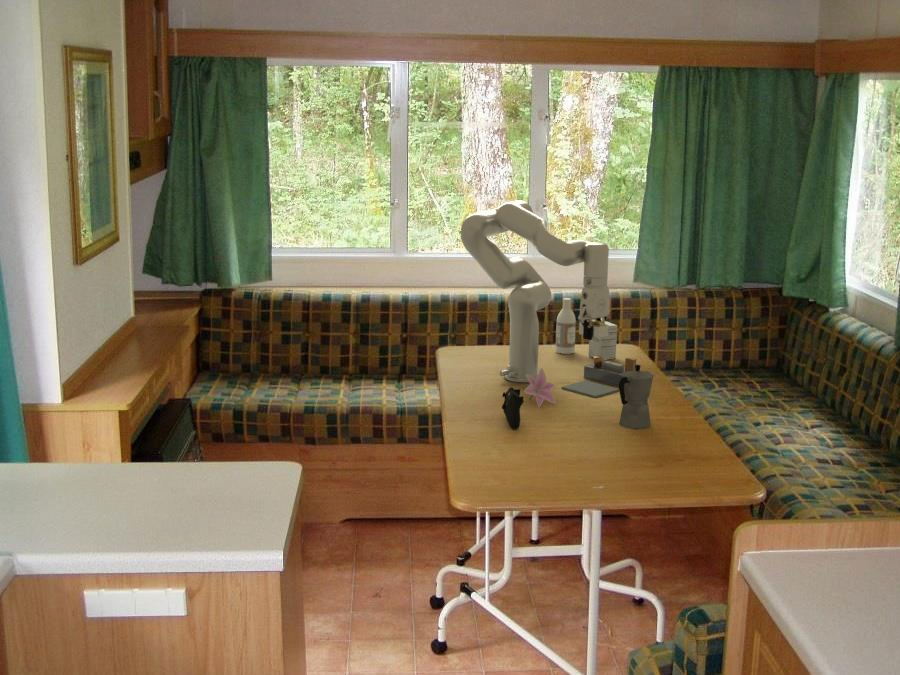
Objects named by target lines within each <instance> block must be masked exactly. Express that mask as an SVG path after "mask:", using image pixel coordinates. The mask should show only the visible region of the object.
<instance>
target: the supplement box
mask: <svg viewBox="0 0 900 675" xmlns="http://www.w3.org/2000/svg"><path fill="white" fill-rule="evenodd" d="M605 324H606V325H608V336H606V337H602V338H595V337H592V340H588V357H590V358H592V357H593V358H592V359H594V356H602V357H603V360H602V361H608V360H607V359H612V360H616V359H617V342H618V341H617V338H618V337H617V336H618V325H617V324H614V323H611V322H610V321H606V320H605ZM614 358H615V359H614ZM605 359H606V360H605Z"/></svg>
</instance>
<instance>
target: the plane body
mask: <svg viewBox="0 0 900 675" xmlns="http://www.w3.org/2000/svg"><path fill="white" fill-rule="evenodd" d="M592 359H593V363H590V364H587V365H584V366H583V368H584V369H583V379H587V380H591V379H592V381H597V382H598V383H599V382H600V383H603V384H607V385H611V386H615V387H618V388H619V382H620V380H621V378H622V377H621V375H622V373H623V372H627V371H636V369H635V365H637V359H636V358H632V357H625V360H624V361H625V362H624V363H625V364H621V363H619V362H618V363H617V362H613V361H611V360H603V357H602V356H594V358H592Z"/></svg>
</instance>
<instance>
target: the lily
mask: <svg viewBox="0 0 900 675" xmlns="http://www.w3.org/2000/svg"><path fill="white" fill-rule="evenodd" d="M537 372H538V374H537V376H536V378H534V377H532V376H530V375H528V374H526V377H527V379H528V381H529V382H528V383H529V385H528V386H526V388H525V389H524V392H523V393H524V394H526V395H530V397H529V399H528V400H529V401H530V400H531V399H532V398H533V396H535V400H536V404H537V407H538V408H540V407H541V406H542V404H543V402H544V400H545V401H547V402H550V403H552V404H554V405H556V404H557V401H556V398H555V396H554V394H553V393H552V392H551V391H552V390H553V389H554V388H555V384H554V383H551V382H547V376H546V372H545V371H544V369H543V367H541V368H540V369H539V370H538V371H537Z"/></svg>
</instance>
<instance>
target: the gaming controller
mask: <svg viewBox="0 0 900 675" xmlns="http://www.w3.org/2000/svg"><path fill="white" fill-rule="evenodd" d="M501 396H502V398H504V402H503V403H502V406H501V409H502V411H503V413H504V415H505V419H506V421H507V423H508V425H509V427H510V428H511V429H512V430H517V429H519V428H520V426H521V412H520V411H521V406H522V405H523V404H524V403H525V400H524V396H523V395H522V396H521V388H520V389H519V388H518V389H515V388H514V387H509V388H508V389H507V391H506V392H503V393H502V395H501Z"/></svg>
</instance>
